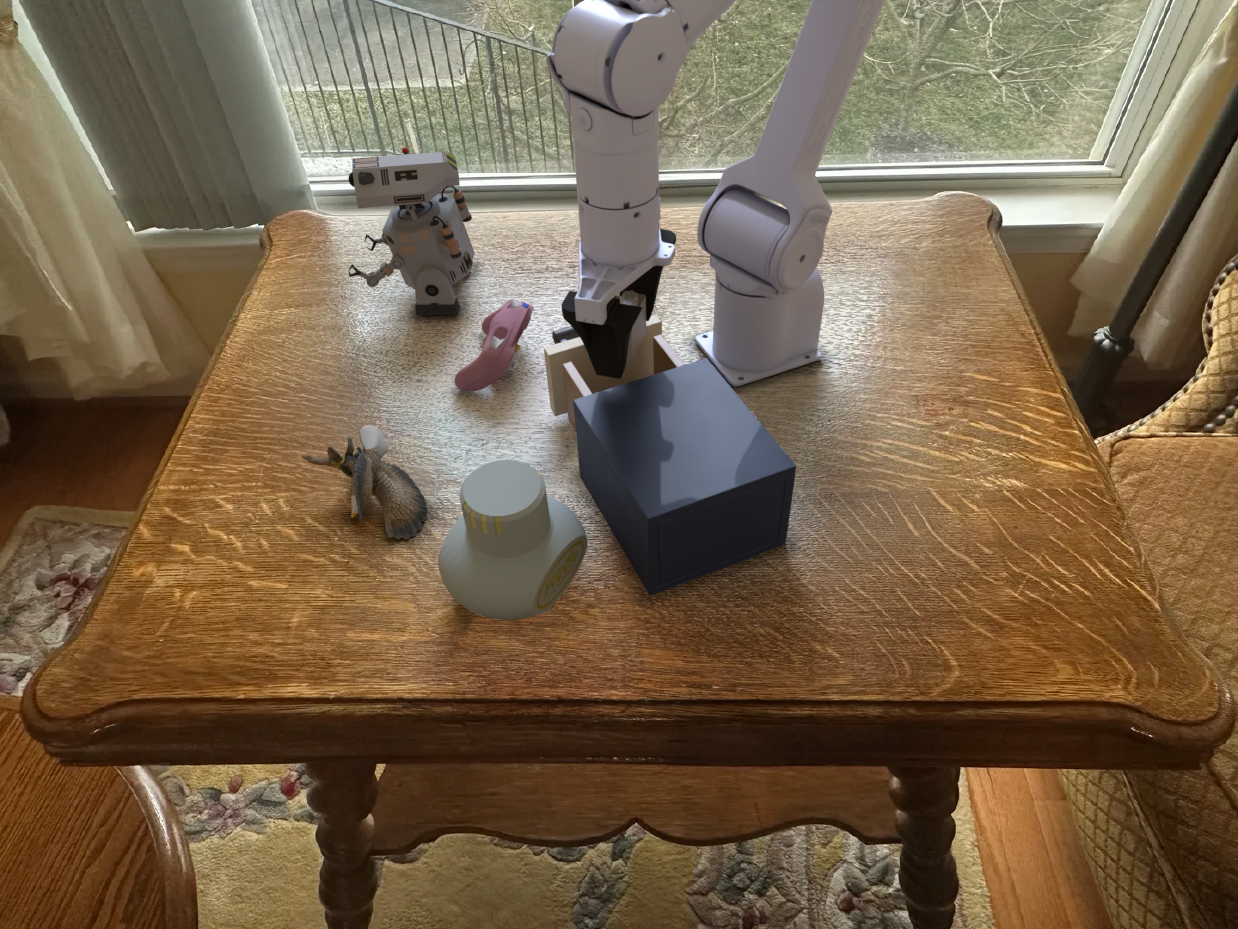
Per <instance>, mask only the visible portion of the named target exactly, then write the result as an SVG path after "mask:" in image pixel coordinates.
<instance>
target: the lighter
mask: <svg viewBox="0 0 1238 929" xmlns="http://www.w3.org/2000/svg"><path fill="white" fill-rule="evenodd" d="M617 298H619V299H620V304H626V305H633V306H639V307H643V308H642V310H641V312H640V314H639V316H638V318H637V320H636V322H635V323H634V325H633V328H632V331H631V334H630V339H629V345H628V353H627V361H626V366H625V367H629V368H630V367H633V365H634V363H635V361H636V359H637V357H638V355H639V353H640V351H641V349H642V347H643V345H644V343H645V341H646V296H645V295H644V294H638V293H636V292H634V291H632V290H631V291H624V293H623V294H622V296H621V297H620V295H618V294H617V295H616V299H617Z"/></svg>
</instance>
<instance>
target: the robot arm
mask: <svg viewBox="0 0 1238 929" xmlns="http://www.w3.org/2000/svg"><path fill="white" fill-rule="evenodd" d="M736 1H737V0H583V1H580V2H579V3H577V4H576V5H574V6H573V7H572V8H570V9H569V10H568V11H567V12H566V13H565V14H564V15H563V17H562V18H561V19H560V21H559V22H558V24H557V27H556V28H555V31H554V35H553V39H552V46H551V52H550V53H549V54H546V65H547V69H548V72H549V74H550V77H551V79H552V80H553V82H554V83H555V84H556V85H557V86H558V87H559V89H561V91H562V94H563V95H564V102H565V112H566V113H568V114H569V116H570V117H571V129H572V142H573V155H574V157H573V158H574V170H575V183H576V192H577V193H576V195H577V209H578V210H577V211H578V222H579V224H578V226H579V236H580V240H579V242H578V246H577V248H578V289H577V291H574V290H569V291H568V292H567V293H566V296H565V297H564V298H563V300H562V302H561V314H562V318H563V319H564V320H565V322H566V323H567V324H569V325H570V326H572V327H573V329H574V330H575V331H576V332H577V334H578V335H579V337H580V338H581V340H582V342H583V344H584V346H585V348H586V350H587V353H588V355H589V358H590V361H591V363H592V366H593V368H594V370H595V373H596V374H597V375H600V376H606V377H611V378H617V379H620V378H621V377H622V375H623V372H624V370H625V366H626V361H627V353H628V345H629V339H630V334H631V331H632V328H633V325H634V323H635V322H636V320H637V318H638V316H639V314H640V312H641V310H642V308H643V307H639V306H633V305H626V304H620V299H619V298H617V299H616V295H617V296H618V294H619V296H620V297H621V296H622V294H623V293H624V291H631V290H632V291H634V292H636V293H638V294H644V295H645V296H646V321H649V319H650V317H651V316H652V315H653V312H654V308H655V305H656V299H657V294H658V290H659V285H660V280H661V277H662V273H663V271H664V267H668V266H670V265H671V264H672V262H673V260H674V258H675V256H676V246H675V244H676V243H677V235H676V233H675V232H673V231H672V230H671V229H664V228H661V226H660V220H661V197H660V169H659V168H660V162H659V161H660V160H659V156H660V155H659V154H660V152H659V151H660V150H659V149H660V148H659V147H660V146H659V141H660V140H659V138H660V136H659V107H660V106H661V105H663V104H664V103H665V102H666V100H667V99H668V97H669V96H670V94H671V92H672V90H673V88H674V86H675V83H676V80H677V77H678V73H679V71H680V68H681V67H682V66H683V64H684V63H685V62H686V61H687V59H688V58H687V56H688V55H689V54H690V46H692V44H694V43H695V42H696V41H697V39H699V38H700V37H701V36H702V35H703V34H704V32H706V31H707V30H708V29H709V28H710V27H711V26H712V25H713V24H714V23H715V22H716V20H718V19H719V18H720V17H721V16H722V15H723V14H724V13H725V12H726V11H727V10H728V9H729V8H730V7H731V6H732V4H734V3H735V2H736ZM885 2H886V0H811V3H810V5H809V8H808V11H807V13H806V16H805V18H804V22H803V24H802V26H801V28H800V29H801V30H800V32H799V35H798V38H797V40H796V43H795V46H794V49H793V50H792V54H791V57H790V59H789V61H788V64H787V67H786V70H785V72H784V75H783V78H782V80H781V83H780V87H779V89H778V91H777V94H776V97H775V99H774V101H773V105H772V107H771V110H770V112H769V115H768V118H767V120H766V123H765V126H764V129H763V131H762V134H761V136H760V140H759V142H758V144H757V147H756V150H755V153H754V154H753V155H751V156H749V157H747V158H745V159H742V160H740V161H738V162H735V163H733V164H731V165H728V166H727V167H726V168H724V169H723V172H722V175H721V178H720V180H719V183H718V185H717V187H716V188H715V190H714V192H712V195H711V196H710V197H709V198H708V199H707V201H706V202H705V204H704V206H703V207H702V209H701V212H700V215H699V218H698V222H697V229H696V231H697V232H696V236H697V242H698V244H699V245H698V246H700V248H701V249H702V251H704V252H706V253H707V254H709V267H711V268H712V269H713V270H714V272H715V280H714V299H713V300H714V302H713V303H714V304H713V326H712V327H713V328H712V330H711V331H708V332H705V333H701V334H698V335H695V338H694V341H695V343H696V345H697V346H698V347H699V349H701V351H702V352H703V353H704V354H705V355H706V356H707V359H708V360H709V361H710V362H711V363H712V365H713V366H714V367H715V368H716V369H717V371H718V372H719V373H720V374H721V375H722V377H723V378H724V379H725V380H726V381H727V383H728V384H729V385H730V386H731V387H740V386H744V385H746V384H750V383H753V382H756V381H759V380H762V379H766V378H768V377H771V376H774V375H778V374H781V373H785V372H787V371H791V370H792V369H796V368H799V367H801V366H802V367H803V366H805V365H808V364H811V363H814V362H818V361H820V360H821V359H822V353H821V351H820V350H819V349H818V348H819V341H820V340H819V339H820V333H821V326H822V319H823V312H824V305H825V288H824V282H823V279H822V276H821V274H820V272H819V268H817V267H818V265H819V263H820V261H821V258H822V255H823V252H824V248H825V247H824V246H825V236H826V233H827V228H828V224H829V222H830V219H831V216H832V215H833V209H832V206H831V203H830V202H829V199H828V198H827V196H826V195H825V192H824V190H823V189H822V187H821V185H820V183H819V180H818V179H817V176H816V174H817V170H818V169H819V166H820V163H821V161H822V159H823V157H824V154H825V152H826V149H827V146H828V143H829V141H830V139H831V136H832V133H833V131H834V129H835V126H836V123H837V122H838V119H839V116H840V114H841V111H842V109H843V106H844V104H845V101H846V99H847V96H848V94H849V91H850V89H851V88H852V87H851V86H852V84H853V82H854V80H855V77H856V74H857V72H858V69H859V67H860V64H861V62H862V59H863V57H864V55H865V52H866V50H867V48H868V44H869V42H870V40H871V37H872V35H873V32H874V30H875V27H876V25H877V22H878V20H879V18H880V14H881V12H882V10H883V7H884V5H885ZM757 194H759V195H760V196H759V195H757ZM761 196H763V197H761ZM764 197H765V198H767V199H765V198H764ZM768 199H770V200H772V201H774V202H772V201H769V200H768ZM775 202H776V203H778V204H780V205H778V204H776V203H775ZM781 205H782V206H781Z"/></svg>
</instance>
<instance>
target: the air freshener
mask: <svg viewBox="0 0 1238 929" xmlns="http://www.w3.org/2000/svg"><path fill="white" fill-rule="evenodd" d="M458 496H459V501H460V507H461V511H462V514H461V515H460V517H459V518H458V519H457V520H456V522H455V523H454V524H453V526H452V527H451V529H450V530H449V532H448V534H447V535H446V537H445V538H444V541H443V543H442V544H441V548H440V550H439V554H438V560H437V563H438V570H439V575H440V578H441V581H442V583H443V585H444V587H445V588H446V590H447V592H448V593H449V594H450V596H451V597H452V598H453V599H454V600H455V601H456V602H457V603H458V604H460V606H462V607H464V608H465V609H466V610H468V611H470V612H471V613H474V614H476V615H478V616H481V617H484V618H488V619H491V620H497V621H498V620H500V621H519V620H525V619H529V618H533V617H537V616H539V615H542V614H544V613H546V612H547V611H549V609H551V608H552V607H553V606H554V605H555V604H556V603H557V602H558V601H559V599H560V598H561V597H563V594H564V593H565V592H566V590H567V589H568V588H569V587H570V584H571V583H572V581H573V580H574V578H575V577H576V575H577V574H578V571H579V570H580V567H581V565H582V563H583V561H584V559H585V556H586V553H587V549H588V537H587V533H586V530H585V528H584V525H583V524H582V522H581V520H580V519H579V517H577V515H576V514H575V512H574V511H572V510H571V509H570V507H568V506H567V505H566V504H564V503H563V502H561V501H560V500H558V499H557V498H555V497H553V496H550V495H548V493H547V488H546V482H545V479H544V477H543V475H542V474H541V473H540V471H539V470H538V469H536V468H535V467H533V466H531V465H530V464H529V463H526V462H524V461H518V460H515V459H499V460H494V461H490V462H486V463H485V464H482V465H480V466H479V467H477V468H475V469H474V470H472V472H470V473H469V474H468V475H467V476H466V478H464V480H463V481H462V484H461V486H460V489H459V495H458Z"/></svg>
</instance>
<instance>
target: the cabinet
mask: <svg viewBox="0 0 1238 929" xmlns="http://www.w3.org/2000/svg"><path fill="white" fill-rule="evenodd" d="M573 406H574V417H575V428H576V433H575V436H576V437H575V438H576V448H577V456H578V457H577V458H578V459H577V460H578V469H579V478H580V480H581V481H582V483H583V485H584V486H585V488H586V490H587V492H588V493H589V495H590V497H591V499H592V500H593V502H594V504H595V505H596V507H597V509H598V511H599V512H600V514H601V516H602V518H603V519H604V521H605V523H606V524H607V526H608V528H609V530H610V531H611V533H612V535H613V536H614V538H615V540H616V542H617V543H618V545H619V547H620V548H621V550H622V552H623V553H624V555H625V557H626V559H627V561H628V563H629V564H630V565H631V567H632V569H633V571H634V572H635V574H636V576H637V577H638V579H639V581H640V583H641V585H642V586H643V588H644V590H645V591H646V594H648V596H649V597H652V596H654V595H657V594H660V593H662V592H664V591H667V590H670V589H673V588H675V587H677V586H681V585H683V584H685V583H688V582H691V581H693V580H697V579H699V578H702V577H703V576H706V575H709V574H712V573H714V572H717V571H720V570H723V569H725V568H727V567H730V566H733V565H735V564H737V563H741V562H744V561H746V560H749V559H751V558H754V557H757V556H759V555H761V554H764V553H766V552H770V551H772V550H775V549H777V548H779V547H782V546H785V545H786V543H787V539H788V538H787V537H788V532H789V525H790V517H791V509H792V502H793V496H794V495H793V494H794V489H795V488H794V487H795V480H796V472H797V465H796V464H795V462H794V461H793V460H792V459H791V457H790V456H789V455H788V454H787V453H786V451H785V450H784V449H783V448H782V447H781V445H780V444H779V443H778V442H777V441H776V439H775V438H774V437H773V436H772V434H771V433H770V432H769V431H768V430H767V429H766V427H765V426H764V425H763V423H761V421H760V420H759V419H758V417H757V416H756V415H755V414H754V412H752V410H751V409H750V408H749V407H748V405H747V404H746V403H745V402H744V400H743V399H742V398H741V397H740V396H739V395H738V394H737V392H736V391H735V390H734V388H732V385H731V384H730V383H729V382H728V381H727V379H726V378H725V377H724V376H723V375H722V373H721V372H720V371H719V370H718V369H717V367H716V366H715V365H714V364H713V362H712V361H711V360H710V359H709V358H708V357H705V358H702V359H699V360H696V361H692V362H689V363H685V365H683V366H680V367H676V368H673V369H670V370H667V371H664V372H661V373H657V374H654V375H651V376H648V377H645V378H641V379H638V380H635V381H632V382H629V383H626V384H622V385H619V386H616V387H613V388H610V389H606V390H603V391H600V392H597V393H594V394H591V395H587V396H584V397H581V398H578V399H575V400H573Z"/></svg>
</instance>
